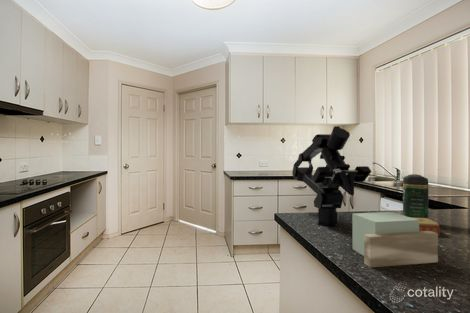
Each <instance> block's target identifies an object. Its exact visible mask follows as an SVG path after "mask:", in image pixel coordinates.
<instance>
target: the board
mask: <svg viewBox="0 0 470 313" xmlns="http://www.w3.org/2000/svg"><path fill="white" fill-rule="evenodd" d="M438 237H439V236H438V233H435V232H432V231H420V232H402V233H384V234H366V235H364V256H363V257H364V258H363V259H364V261H363V262H364V265H365V266H367V267H368V268H378V267H379V268H380V267H394V266H405V265H419V264H421V265H422V264H431V263H432V264H433V263H438V262H439V253H438V252H439V246H438V245H439V241H438V240H439V238H438Z"/></svg>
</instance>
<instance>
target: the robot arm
mask: <svg viewBox="0 0 470 313" xmlns="http://www.w3.org/2000/svg"><path fill="white" fill-rule="evenodd" d="M350 135H351V134H350V131H348V130H346V129H344V128H341V127H340V126H336V125H335V126H333V127H332V130H331V133H329V134H327V133H326V134H325V133H324V134H319V133H317V134H315V135H314V136H313V139H312V140H311V141H312V143H311V144H310V145H309V146H307V148H306V149H305V150H303V151H301V153H299V154H298V158H297V160H296V161H295V162H294V164H293V167H292V172H291V173H292V177H293V178H294V180H295V181H299V182H303V183H304V184H305V185H306V186H307V187H309V188H310V189H311V190H312V191H313V192H314V193H315V194H316V196H315V198H314V200H313V205H314V206H313V207H315V208H317V211H318V212H317V213H318V216H317V218H318V220H317V224H316V225H320V226H327V227H337V225H338V224H339V211H337V209H342V205H343V201H344V195H343V193H342V191H341V190H340V188H342V189H343V190H344V191H345V192H346V193H347V194H348V195H349V196H354V195H355V183H363V182H366V180H367V179H368V177H369V176H370V174H371V173H372V170H371V169H370V167H369V166H364V165H361V166H360V165H359V166H356V167H355V169H350V168H351V165H350V164H349V163H348V164H347V163H346V162H345V159H346V157H345V155H341V153H340V152H339V151H341V150H343V149H344V148H345V145H346V143H347V142H348V140H349V138H350ZM319 154H320V155H319ZM317 155H319V159H320V160H324V162H325V163H326V165H325V166H317V167H316V169H315V171H314V172H313V170H314V166H313V163H312V161H313V159H314V158H315V157H316V156H317ZM303 162H307V163H308V167H305V166H304V167H302V166H301V165H302V163H303ZM300 166H301V167H300ZM313 173H314V174H313Z"/></svg>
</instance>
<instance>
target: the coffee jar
mask: <svg viewBox="0 0 470 313" xmlns="http://www.w3.org/2000/svg"><path fill="white" fill-rule="evenodd" d="M429 196H430V194H429V179H428V178H427V177H425V176H423V175H421V174H415V173H414V174H412V173H411V174H408V175H405V176H404V177H403V179H402V215H404V216H407V217H413V218H428V219H429Z"/></svg>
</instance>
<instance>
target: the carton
mask: <svg viewBox="0 0 470 313" xmlns="http://www.w3.org/2000/svg"><path fill="white" fill-rule="evenodd" d="M410 218H413V217H410ZM414 219H417V220H419V232H420V231H432V232H435V233H438V237H440V234H441V232H440V231H441V230H440V224H439V223H438V222H436V221H434V220H432V219H430V218H429V217H428V218H414Z"/></svg>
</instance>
